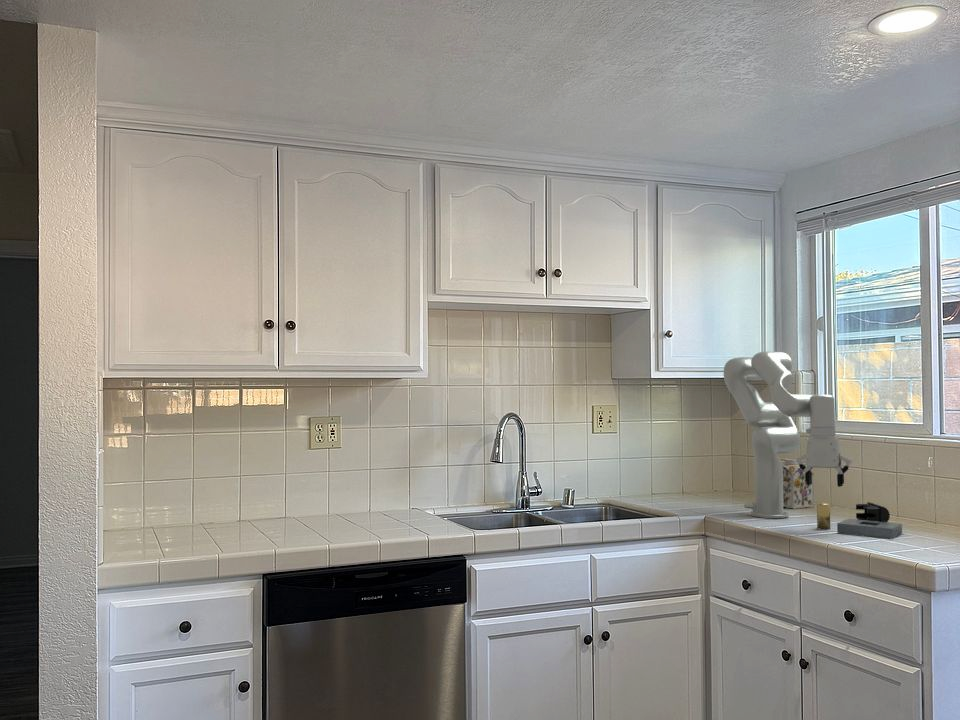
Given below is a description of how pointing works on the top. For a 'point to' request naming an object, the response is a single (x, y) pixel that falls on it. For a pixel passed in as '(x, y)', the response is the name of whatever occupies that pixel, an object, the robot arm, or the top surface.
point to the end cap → (872, 512)
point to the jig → (869, 528)
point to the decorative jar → (796, 486)
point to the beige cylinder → (823, 515)
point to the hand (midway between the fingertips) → (824, 485)
